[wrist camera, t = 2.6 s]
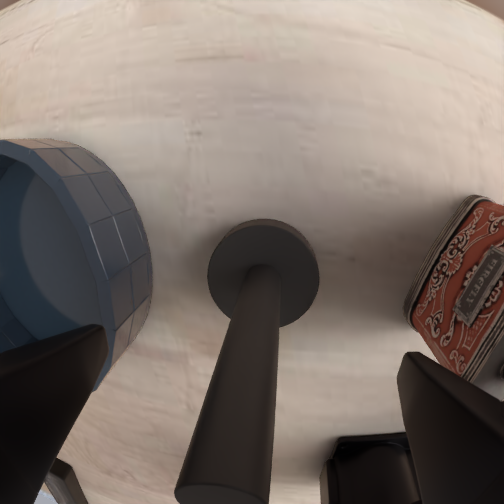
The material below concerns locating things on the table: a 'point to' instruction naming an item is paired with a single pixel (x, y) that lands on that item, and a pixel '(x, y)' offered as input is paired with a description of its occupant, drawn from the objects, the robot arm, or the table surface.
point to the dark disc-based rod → (247, 361)
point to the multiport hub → (64, 484)
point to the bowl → (69, 248)
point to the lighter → (465, 295)
